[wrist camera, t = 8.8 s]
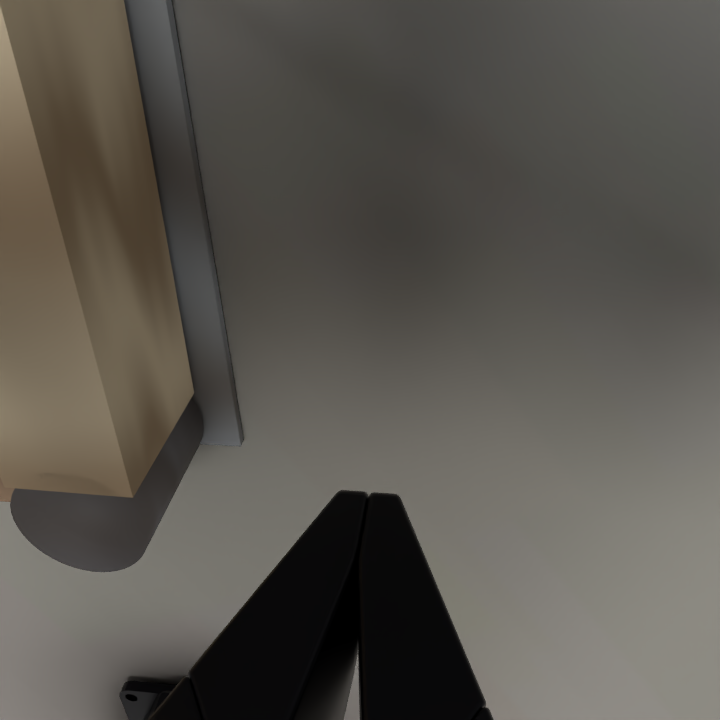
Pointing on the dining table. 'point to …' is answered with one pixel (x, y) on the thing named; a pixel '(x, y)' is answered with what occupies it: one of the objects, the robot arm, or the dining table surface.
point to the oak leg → (85, 293)
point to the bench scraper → (183, 219)
